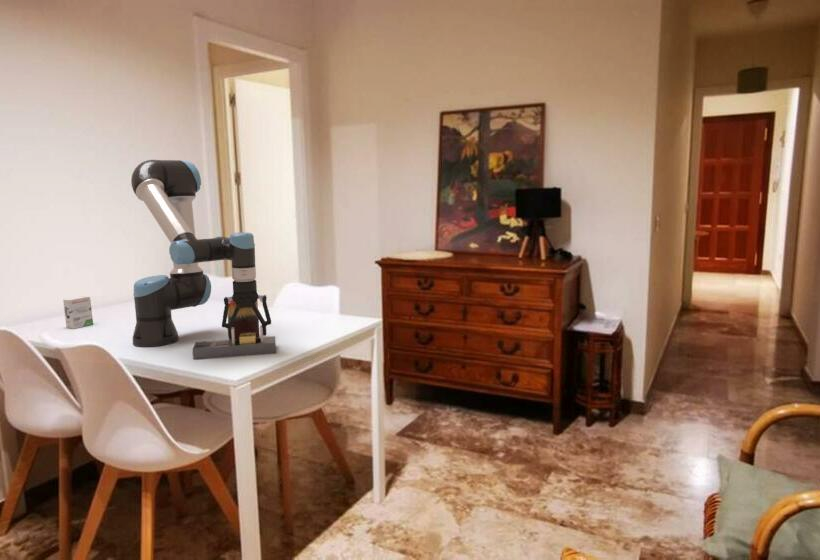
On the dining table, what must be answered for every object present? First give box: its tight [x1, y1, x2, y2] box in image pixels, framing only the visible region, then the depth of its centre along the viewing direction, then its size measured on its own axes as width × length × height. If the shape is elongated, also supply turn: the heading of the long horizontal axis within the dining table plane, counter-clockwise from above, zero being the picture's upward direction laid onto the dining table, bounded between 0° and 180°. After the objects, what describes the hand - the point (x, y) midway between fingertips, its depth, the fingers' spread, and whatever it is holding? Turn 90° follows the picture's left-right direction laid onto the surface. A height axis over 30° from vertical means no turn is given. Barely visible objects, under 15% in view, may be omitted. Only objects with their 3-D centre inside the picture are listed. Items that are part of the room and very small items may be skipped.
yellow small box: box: [239, 332, 256, 344], centre depth 192 cm, size 5×5×7 cm
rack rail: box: [192, 335, 277, 360], centre depth 192 cm, size 26×9×4 cm, turn 104°
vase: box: [227, 299, 261, 340], centre depth 208 cm, size 11×11×20 cm
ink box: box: [63, 296, 94, 330], centre depth 232 cm, size 9×5×12 cm, turn 148°
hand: (248, 345), depth 193 cm, fingers open, 9 cm apart
